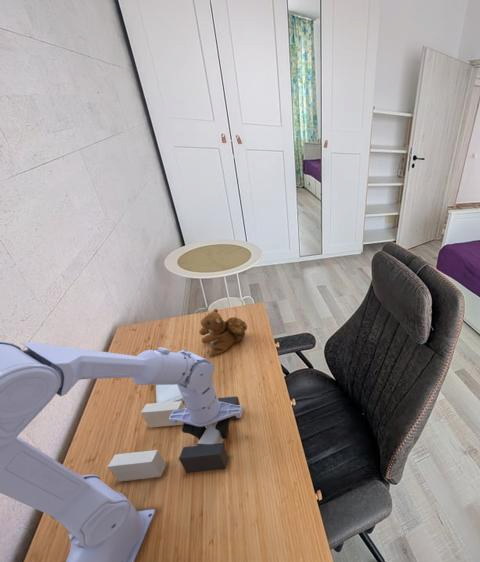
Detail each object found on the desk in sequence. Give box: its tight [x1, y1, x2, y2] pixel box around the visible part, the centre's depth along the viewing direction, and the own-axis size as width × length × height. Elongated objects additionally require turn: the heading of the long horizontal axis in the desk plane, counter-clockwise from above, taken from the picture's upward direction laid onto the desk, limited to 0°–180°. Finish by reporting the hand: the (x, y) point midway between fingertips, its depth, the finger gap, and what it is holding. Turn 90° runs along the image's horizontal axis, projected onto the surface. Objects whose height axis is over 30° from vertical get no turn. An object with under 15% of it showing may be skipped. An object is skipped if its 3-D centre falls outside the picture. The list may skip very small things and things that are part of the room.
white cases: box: [107, 401, 186, 482], centre depth 65 cm, size 14×8×6 cm, turn 9°
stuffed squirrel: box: [198, 308, 248, 357], centre depth 93 cm, size 10×14×13 cm
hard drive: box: [155, 384, 185, 403], centre depth 79 cm, size 2×8×12 cm
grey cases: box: [178, 395, 241, 474], centre depth 67 cm, size 14×8×6 cm, turn 9°
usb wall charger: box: [196, 422, 225, 446], centre depth 67 cm, size 4×7×4 cm, turn 178°
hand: (215, 435), depth 68 cm, fingers closed on usb wall charger, 4 cm apart
